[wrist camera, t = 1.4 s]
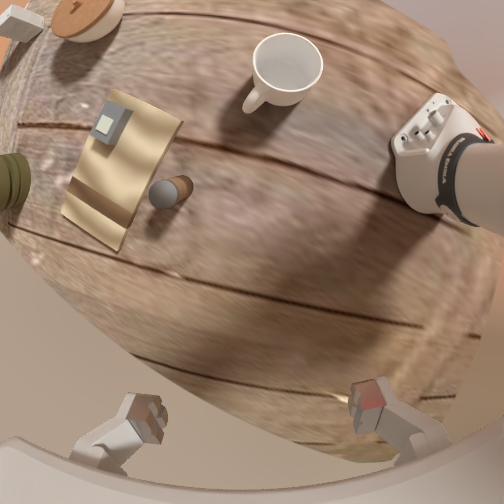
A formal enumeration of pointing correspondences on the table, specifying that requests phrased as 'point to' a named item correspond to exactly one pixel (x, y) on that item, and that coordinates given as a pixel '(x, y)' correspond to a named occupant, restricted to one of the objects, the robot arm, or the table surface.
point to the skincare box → (20, 24)
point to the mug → (283, 71)
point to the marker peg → (170, 191)
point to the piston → (13, 180)
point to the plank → (119, 171)
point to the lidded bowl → (86, 19)
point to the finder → (111, 122)
